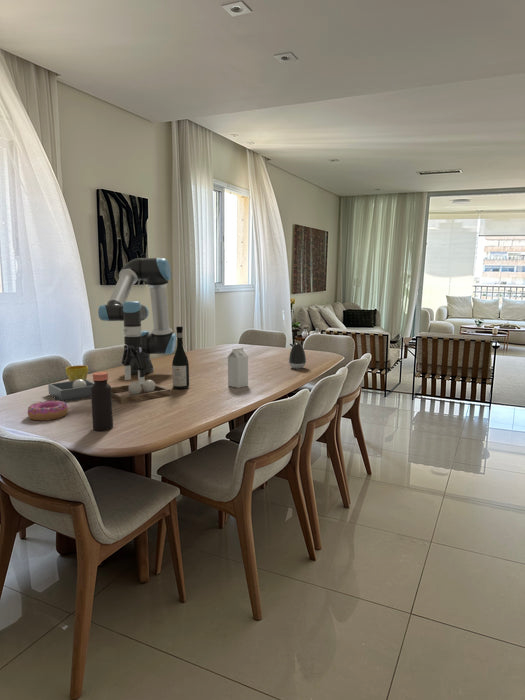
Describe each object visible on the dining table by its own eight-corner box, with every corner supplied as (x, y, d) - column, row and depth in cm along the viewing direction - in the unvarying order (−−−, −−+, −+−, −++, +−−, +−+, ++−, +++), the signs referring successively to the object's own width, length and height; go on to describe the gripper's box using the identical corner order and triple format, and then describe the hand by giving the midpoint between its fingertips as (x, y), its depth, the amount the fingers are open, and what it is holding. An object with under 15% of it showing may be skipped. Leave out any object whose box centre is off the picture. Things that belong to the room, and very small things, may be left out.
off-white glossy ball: (84, 390, 223) (82, 377, 222) (89, 390, 218) (87, 378, 218) (71, 393, 219) (69, 380, 218) (76, 393, 214) (74, 380, 214)
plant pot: (62, 387, 232) (60, 367, 231) (79, 383, 242) (77, 364, 240) (77, 389, 228) (75, 369, 226) (93, 385, 237) (92, 366, 235)
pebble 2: (138, 392, 222) (137, 379, 221) (144, 394, 217) (143, 382, 217) (126, 394, 218) (125, 381, 217) (132, 396, 214) (131, 383, 213)
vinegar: (96, 425, 172) (93, 371, 169) (115, 425, 172) (112, 371, 169) (90, 431, 165) (87, 375, 162) (110, 431, 165) (107, 375, 162)
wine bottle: (185, 389, 227) (184, 327, 223) (170, 389, 229) (168, 327, 224) (191, 386, 235) (190, 326, 231) (176, 385, 237) (174, 325, 232)
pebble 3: (151, 390, 227) (151, 377, 226) (158, 392, 222) (157, 379, 221) (140, 392, 223) (139, 379, 222) (146, 394, 218) (145, 381, 217)
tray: (147, 386, 234) (147, 381, 233) (170, 394, 217) (169, 389, 217) (100, 394, 218) (100, 389, 218) (121, 403, 202) (121, 398, 202)
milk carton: (228, 386, 235) (227, 348, 232) (238, 383, 240) (237, 346, 237) (237, 388, 230) (237, 349, 227) (248, 386, 235) (248, 348, 232)
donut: (71, 418, 182) (70, 405, 181) (30, 424, 174) (29, 411, 173) (64, 409, 194) (63, 397, 193) (25, 415, 186) (24, 402, 185)
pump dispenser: (294, 365, 289) (294, 341, 287) (309, 367, 283) (309, 342, 281) (285, 368, 281) (285, 343, 279) (300, 370, 275) (300, 344, 273)
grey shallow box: (85, 389, 229) (85, 379, 228) (99, 395, 216) (99, 384, 215) (48, 394, 218) (48, 384, 217) (61, 401, 205) (60, 390, 204)
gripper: (113, 334, 221) (115, 378, 223) (138, 338, 202) (139, 387, 205) (128, 333, 225) (129, 376, 228) (153, 337, 207) (155, 384, 210)
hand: (134, 381), depth 217 cm, fingers open, 13 cm apart
